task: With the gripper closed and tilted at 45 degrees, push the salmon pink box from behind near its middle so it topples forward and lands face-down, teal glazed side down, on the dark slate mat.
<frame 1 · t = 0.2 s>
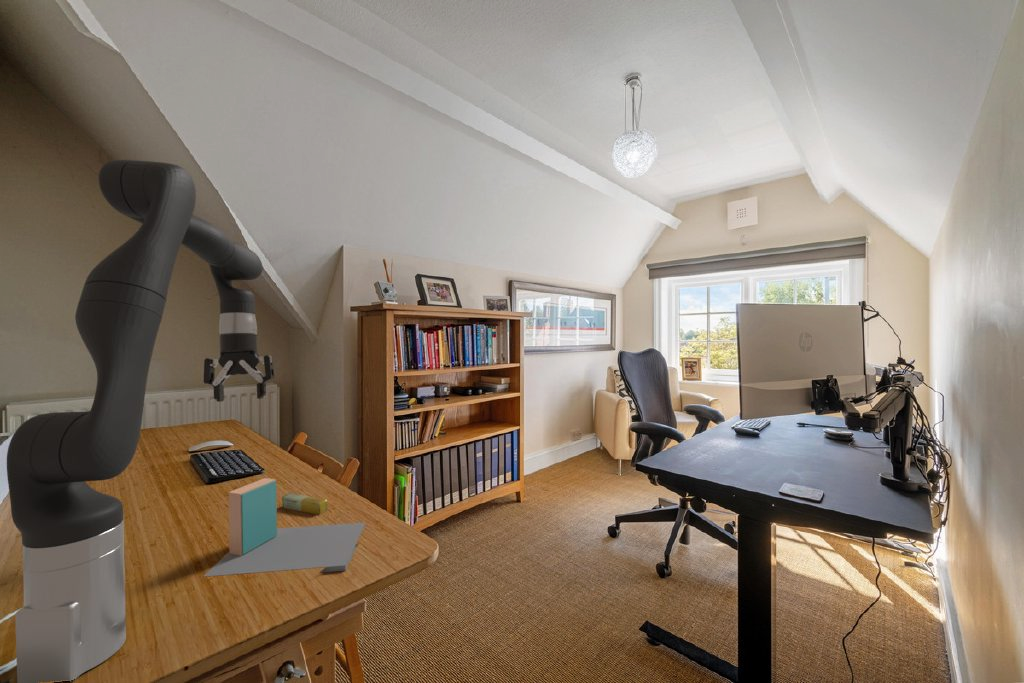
hand: (240, 399, 96), 28 cm above the table, tool pointing down, fingers open, 8 cm apart
salmon pink box: (254, 544, 82), point 1 cm above the table, touching slate mat
slate mat: (294, 551, 81), on the table
medication box: (304, 514, 98), on the table
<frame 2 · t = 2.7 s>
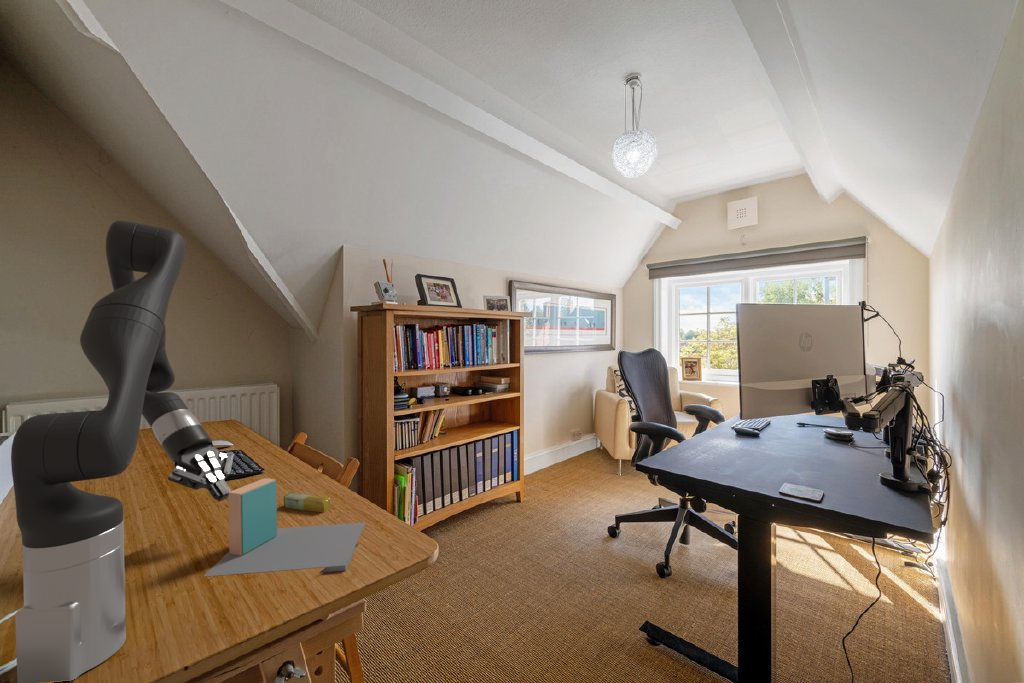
hand: (225, 497, 84), 10 cm above the table, tool tilted 45°, fingers closed
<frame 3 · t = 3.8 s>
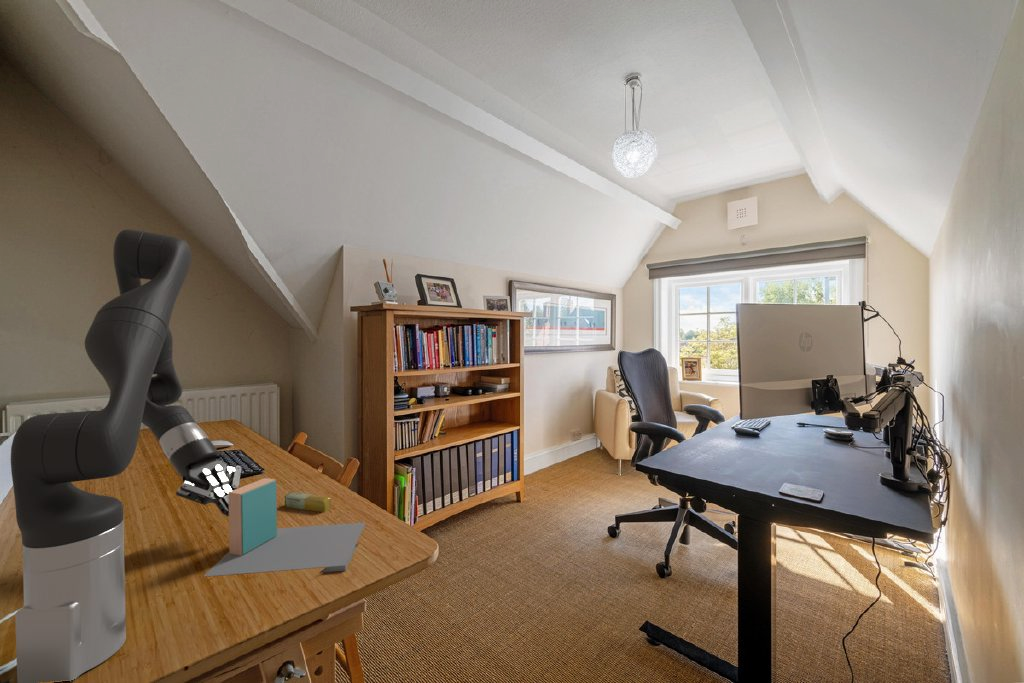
hand: (233, 512, 83), 7 cm above the table, tool tilted 45°, fingers closed
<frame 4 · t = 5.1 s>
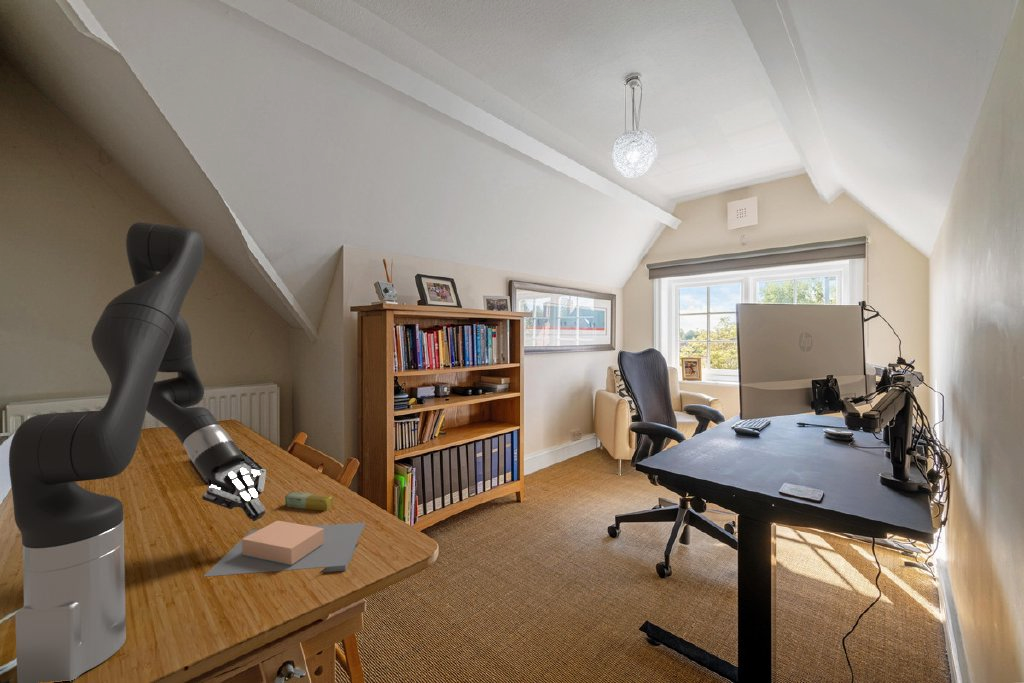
hand: (259, 517, 81), 7 cm above the table, tool tilted 45°, fingers closed
salmon pink box: (260, 536, 81), point 3 cm above the table, tilted 90°, touching slate mat
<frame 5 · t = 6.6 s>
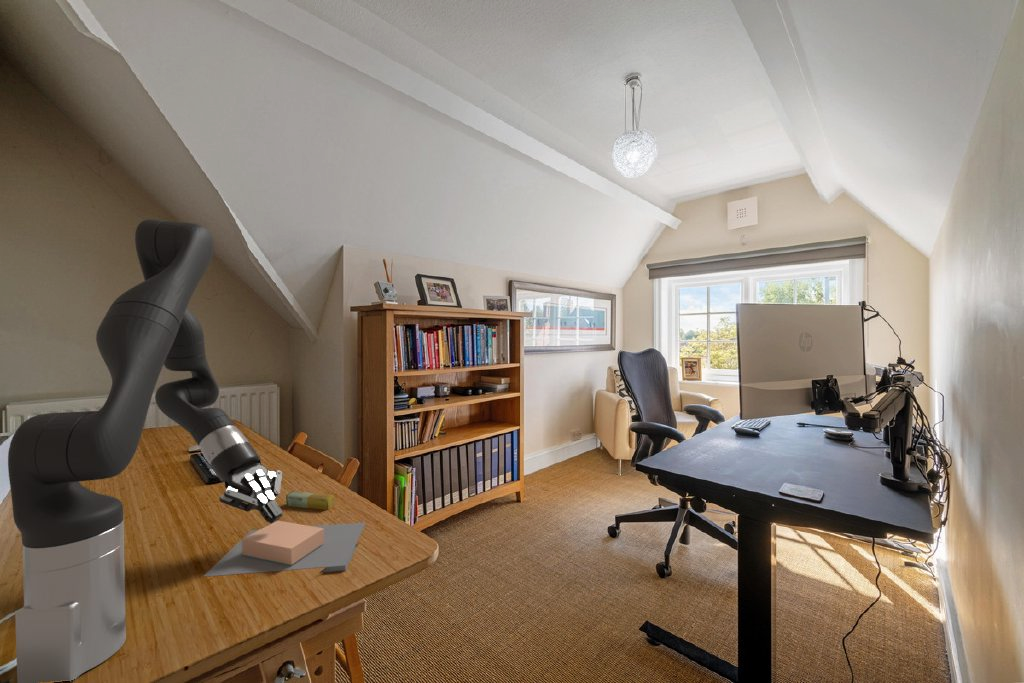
hand: (277, 519, 80), 7 cm above the table, tool tilted 45°, fingers closed
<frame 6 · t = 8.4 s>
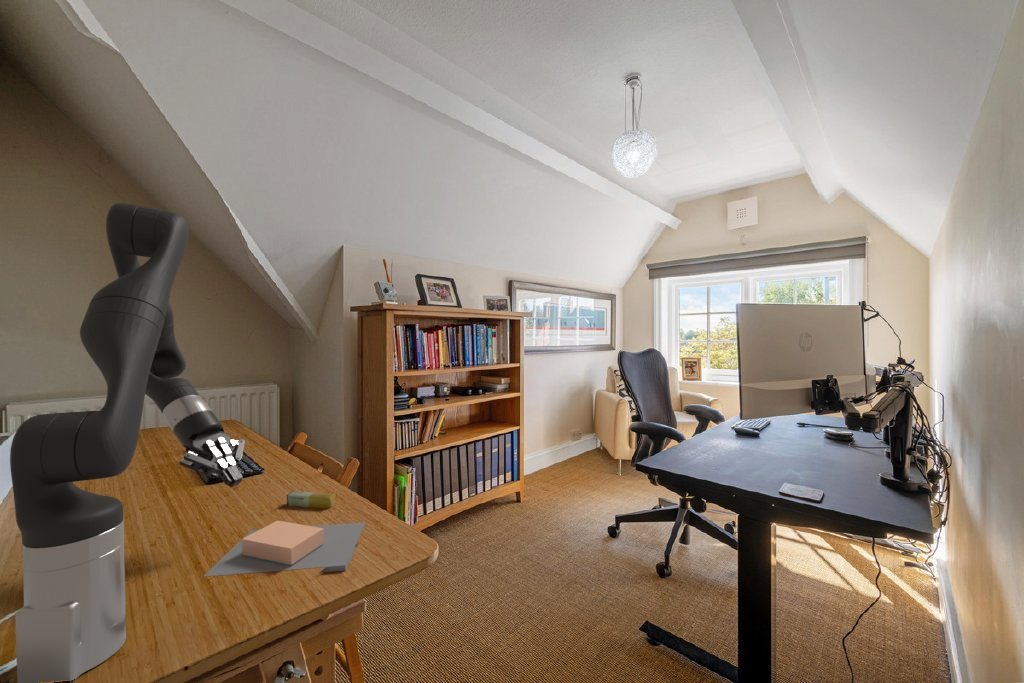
hand: (236, 483, 83), 13 cm above the table, tool tilted 45°, fingers closed
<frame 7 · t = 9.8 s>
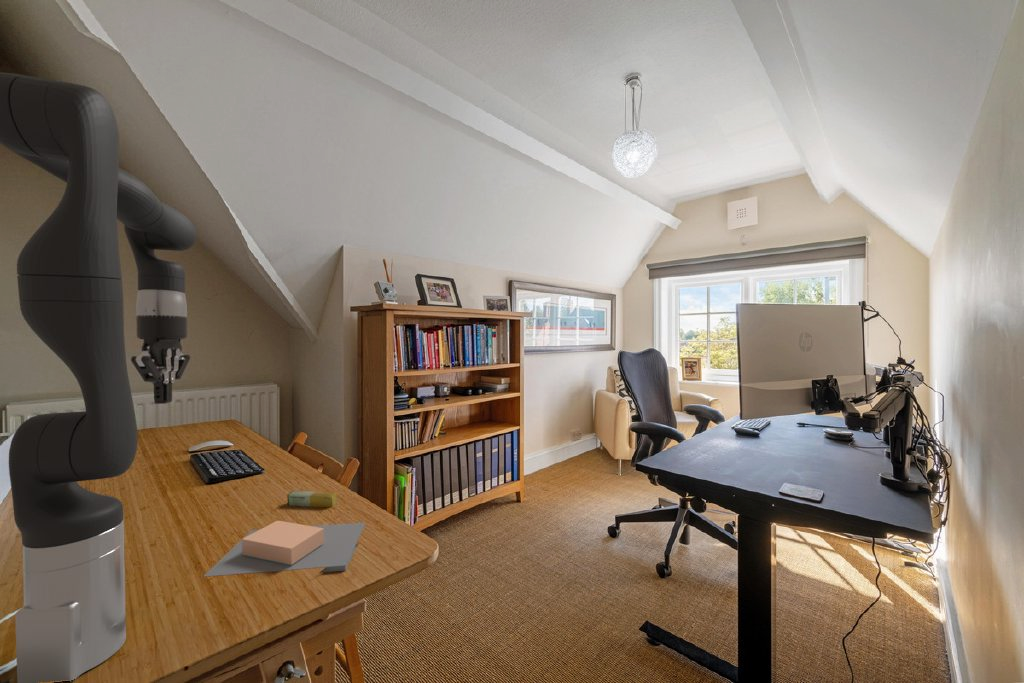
hand: (163, 402, 79), 30 cm above the table, tool pointing down, fingers closed
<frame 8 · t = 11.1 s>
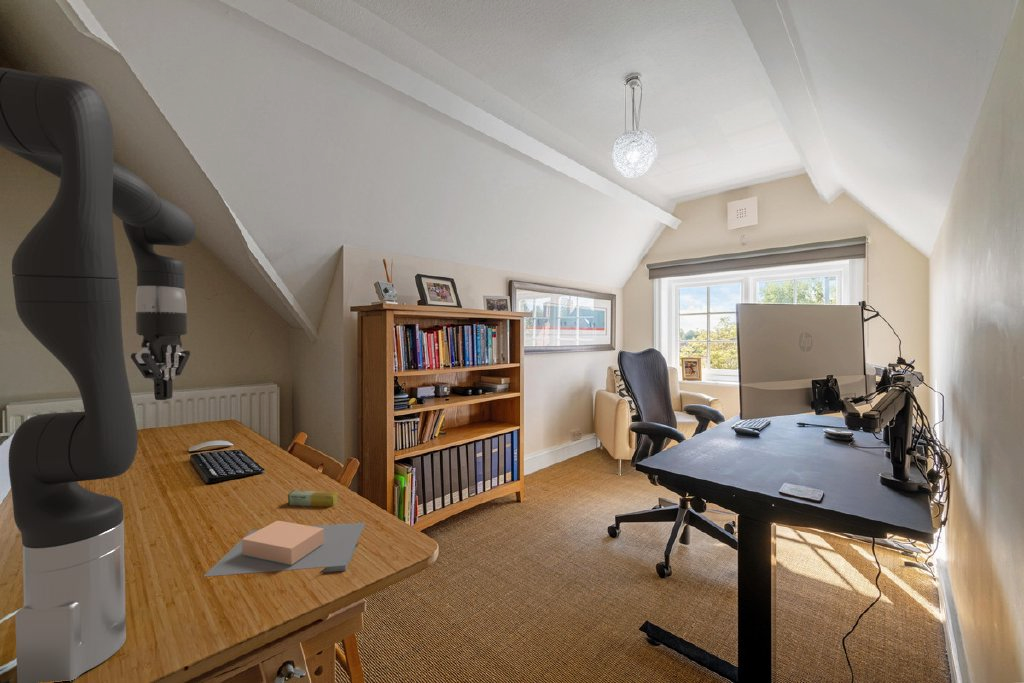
hand: (163, 399, 79), 31 cm above the table, tool pointing down, fingers closed
at the end: salmon pink box tilted 90°; salmon pink box inside the target area on the slate mat (7.0 cm from its centre), point 2.8 cm above the slate mat's base; salmon pink box touching slate mat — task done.
